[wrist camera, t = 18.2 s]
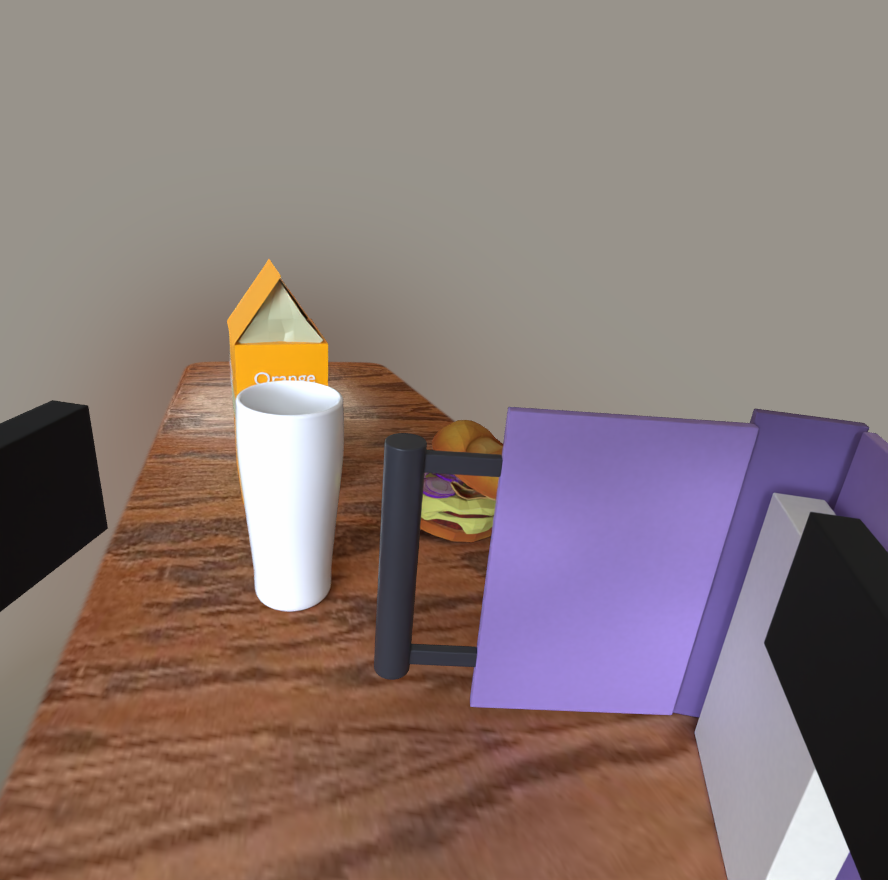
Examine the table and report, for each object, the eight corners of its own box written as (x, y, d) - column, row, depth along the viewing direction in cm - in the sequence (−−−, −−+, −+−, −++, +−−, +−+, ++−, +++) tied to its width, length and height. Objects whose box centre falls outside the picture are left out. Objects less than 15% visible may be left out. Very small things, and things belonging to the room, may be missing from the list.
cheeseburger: (394, 485, 62) (426, 393, 58) (497, 516, 63) (535, 427, 59) (387, 541, 52) (425, 435, 49) (508, 575, 54) (554, 474, 50)
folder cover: (676, 725, 37) (767, 433, 29) (371, 713, 36) (385, 408, 29) (664, 698, 39) (747, 417, 31) (373, 686, 38) (388, 393, 30)
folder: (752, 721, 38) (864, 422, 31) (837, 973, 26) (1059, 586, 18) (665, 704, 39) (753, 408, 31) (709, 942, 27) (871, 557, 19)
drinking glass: (236, 623, 42) (223, 414, 36) (253, 563, 49) (244, 377, 43) (338, 622, 43) (342, 418, 37) (343, 564, 49) (346, 381, 43)
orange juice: (312, 455, 67) (312, 259, 59) (328, 495, 59) (330, 277, 51) (234, 461, 64) (222, 257, 56) (240, 504, 56) (228, 275, 48)
